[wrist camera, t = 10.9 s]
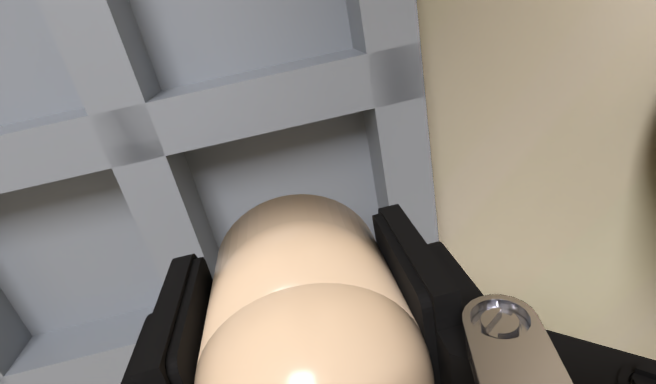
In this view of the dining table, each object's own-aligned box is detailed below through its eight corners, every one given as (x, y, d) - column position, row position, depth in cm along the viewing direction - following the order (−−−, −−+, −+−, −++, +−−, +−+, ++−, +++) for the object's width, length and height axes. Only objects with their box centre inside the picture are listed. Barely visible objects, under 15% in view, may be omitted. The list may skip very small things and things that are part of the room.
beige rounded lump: (193, 217, 11) (115, 447, 5) (364, 176, 11) (474, 351, 5) (242, 347, 13) (225, 622, 7) (387, 310, 13) (486, 546, 7)
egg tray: (-668, -85, 10) (-1009, -120, 7) (354, -269, 11) (383, -357, 9) (-168, 404, 17) (-248, 477, 15) (417, 258, 19) (444, 300, 16)
